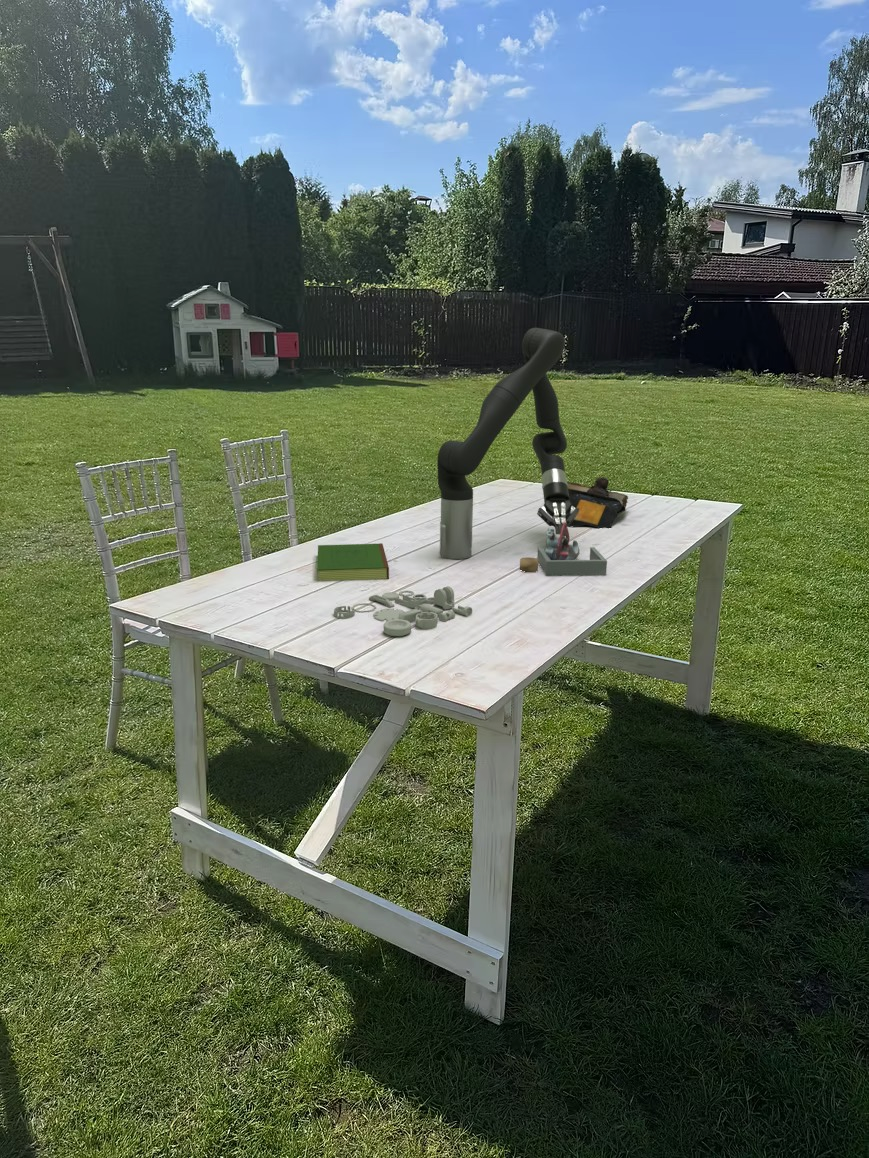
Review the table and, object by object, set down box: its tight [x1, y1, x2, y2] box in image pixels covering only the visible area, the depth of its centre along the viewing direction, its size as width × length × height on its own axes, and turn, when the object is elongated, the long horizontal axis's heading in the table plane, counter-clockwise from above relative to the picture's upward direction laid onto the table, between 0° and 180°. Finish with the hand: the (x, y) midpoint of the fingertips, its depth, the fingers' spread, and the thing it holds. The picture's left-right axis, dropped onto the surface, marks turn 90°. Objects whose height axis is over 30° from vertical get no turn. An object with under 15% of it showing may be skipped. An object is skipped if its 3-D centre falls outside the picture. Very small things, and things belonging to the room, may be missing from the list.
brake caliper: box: [543, 522, 580, 560], centre depth 226 cm, size 11×11×12 cm
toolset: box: [565, 476, 629, 529], centre depth 279 cm, size 40×20×27 cm
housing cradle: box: [536, 546, 608, 577], centre depth 218 cm, size 16×14×4 cm
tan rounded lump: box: [519, 556, 539, 573], centre depth 216 cm, size 5×5×3 cm
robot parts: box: [333, 586, 473, 637], centre depth 183 cm, size 25×25×5 cm
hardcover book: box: [316, 542, 390, 582], centre depth 218 cm, size 25×19×4 cm
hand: (561, 536), depth 230 cm, fingers closed
